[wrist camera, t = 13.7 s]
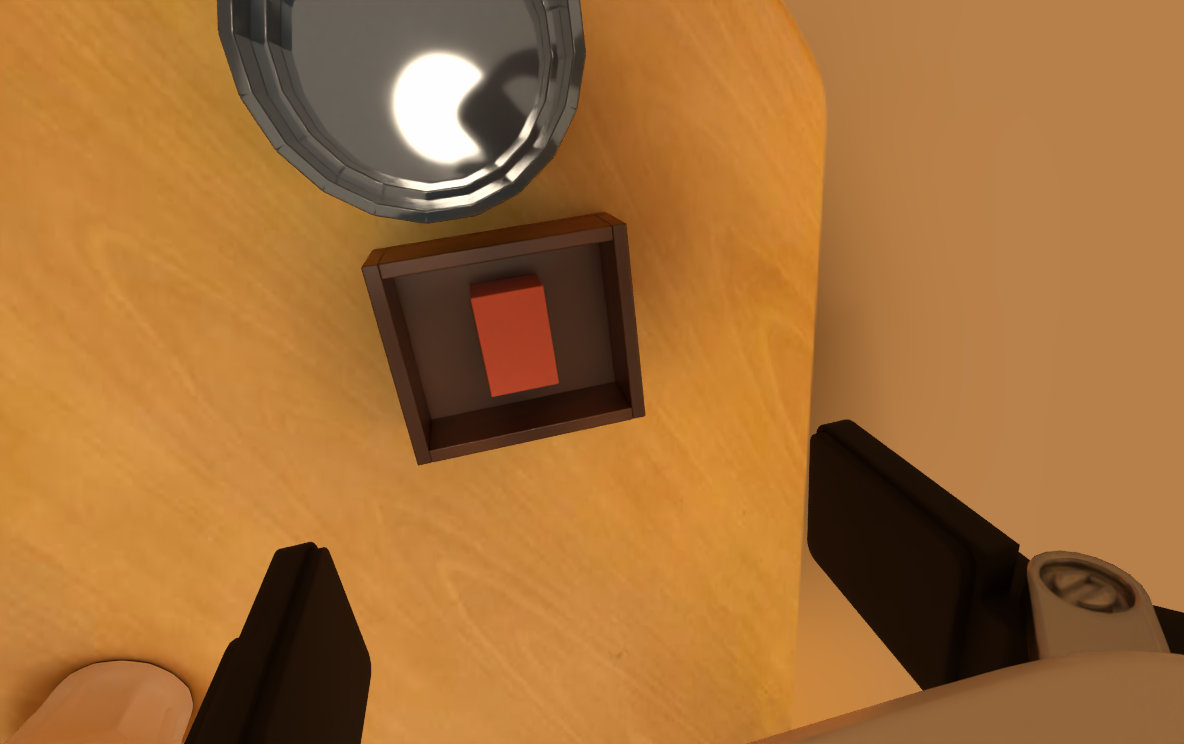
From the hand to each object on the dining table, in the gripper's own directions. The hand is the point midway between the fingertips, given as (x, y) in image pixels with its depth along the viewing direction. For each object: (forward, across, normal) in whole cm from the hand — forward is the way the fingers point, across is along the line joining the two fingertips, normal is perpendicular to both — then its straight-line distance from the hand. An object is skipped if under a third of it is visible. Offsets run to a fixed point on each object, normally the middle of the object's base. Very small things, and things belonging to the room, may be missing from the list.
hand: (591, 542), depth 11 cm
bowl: (+26, +2, -11) cm, 29 cm away
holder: (+26, 0, +4) cm, 27 cm away
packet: (+26, 0, +4) cm, 26 cm away
